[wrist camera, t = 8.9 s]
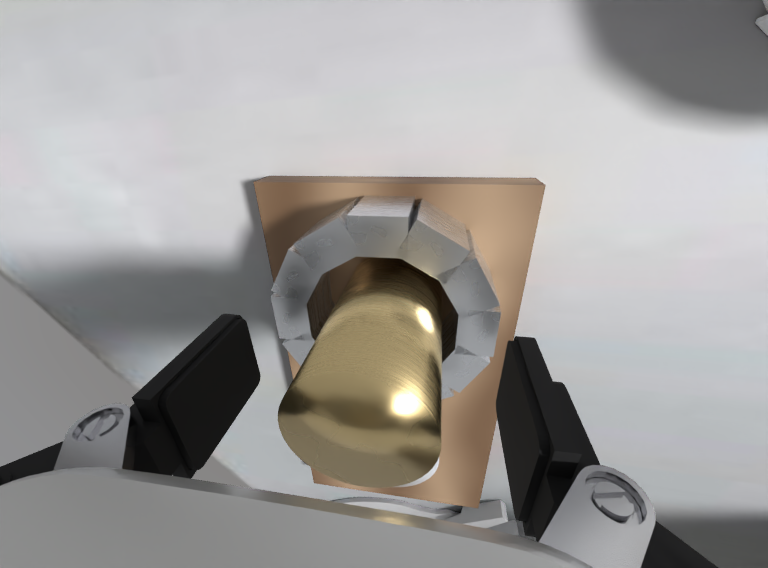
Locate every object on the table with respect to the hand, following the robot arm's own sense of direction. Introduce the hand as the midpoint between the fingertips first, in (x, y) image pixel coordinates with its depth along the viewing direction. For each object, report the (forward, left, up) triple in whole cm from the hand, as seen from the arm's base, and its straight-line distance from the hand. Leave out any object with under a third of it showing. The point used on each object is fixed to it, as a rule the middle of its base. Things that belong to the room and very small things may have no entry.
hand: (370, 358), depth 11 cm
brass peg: (0, 0, -5) cm, 5 cm away
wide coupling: (0, 0, -5) cm, 5 cm away
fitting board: (0, +6, -6) cm, 9 cm away
